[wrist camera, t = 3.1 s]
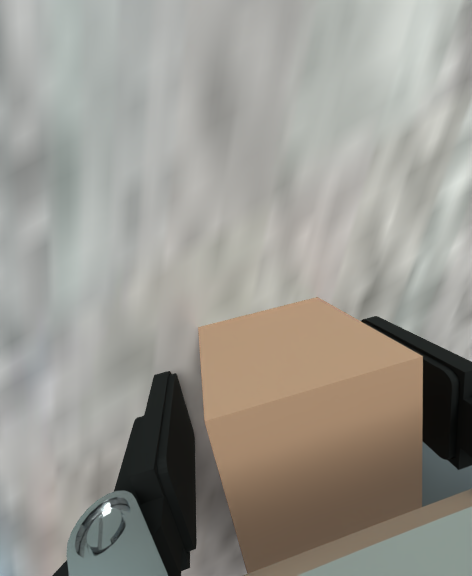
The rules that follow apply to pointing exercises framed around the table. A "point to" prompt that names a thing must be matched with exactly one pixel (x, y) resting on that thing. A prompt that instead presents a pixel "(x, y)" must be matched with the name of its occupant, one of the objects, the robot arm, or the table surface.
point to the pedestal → (441, 477)
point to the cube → (310, 426)
